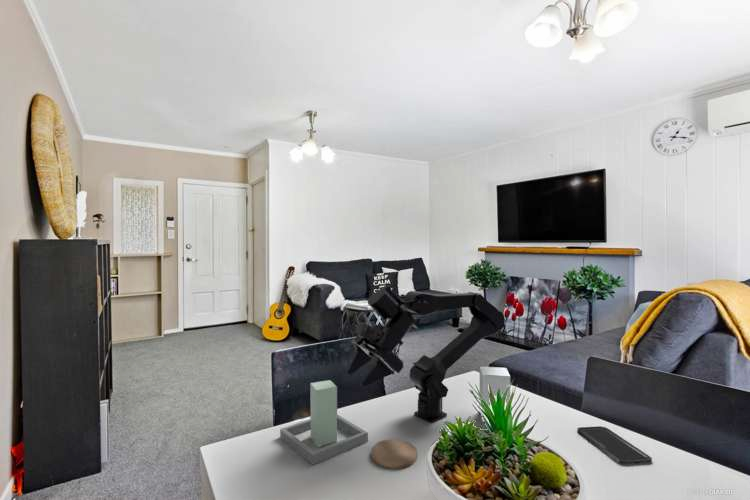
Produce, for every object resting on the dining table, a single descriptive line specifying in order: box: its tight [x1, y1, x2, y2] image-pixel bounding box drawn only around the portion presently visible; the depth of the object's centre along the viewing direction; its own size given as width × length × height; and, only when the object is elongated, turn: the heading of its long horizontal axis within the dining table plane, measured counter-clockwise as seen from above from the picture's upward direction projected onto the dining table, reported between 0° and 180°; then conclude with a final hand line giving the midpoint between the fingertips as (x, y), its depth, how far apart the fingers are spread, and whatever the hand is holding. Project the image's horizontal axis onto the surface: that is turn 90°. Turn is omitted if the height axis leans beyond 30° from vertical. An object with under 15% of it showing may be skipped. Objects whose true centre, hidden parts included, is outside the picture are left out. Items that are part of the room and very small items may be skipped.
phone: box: [576, 425, 653, 466], centre depth 87 cm, size 8×1×15 cm
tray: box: [279, 414, 369, 465], centre depth 90 cm, size 15×15×2 cm
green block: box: [309, 379, 338, 447], centre depth 90 cm, size 5×5×13 cm
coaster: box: [370, 438, 418, 470], centre depth 83 cm, size 10×10×1 cm
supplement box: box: [478, 366, 511, 423], centre depth 101 cm, size 7×7×13 cm
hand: (355, 379), depth 93 cm, fingers open, 9 cm apart
